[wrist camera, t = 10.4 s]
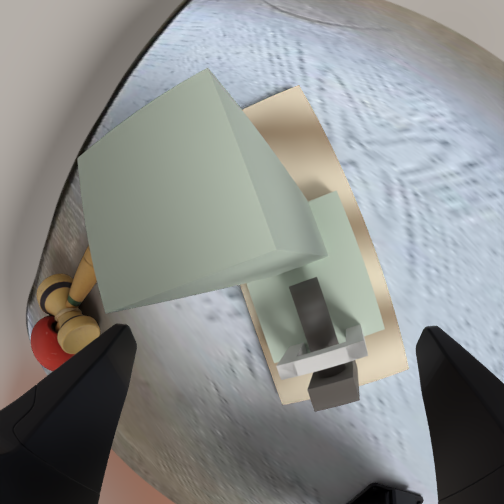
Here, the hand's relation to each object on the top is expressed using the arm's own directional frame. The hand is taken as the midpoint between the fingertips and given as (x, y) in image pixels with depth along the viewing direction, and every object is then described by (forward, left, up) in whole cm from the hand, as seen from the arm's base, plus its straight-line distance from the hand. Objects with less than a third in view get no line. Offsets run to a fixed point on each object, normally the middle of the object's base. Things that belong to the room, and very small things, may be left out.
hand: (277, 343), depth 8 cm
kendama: (-11, +18, -12) cm, 24 cm away
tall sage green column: (+1, +1, -10) cm, 10 cm away
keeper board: (+2, +2, -11) cm, 12 cm away
